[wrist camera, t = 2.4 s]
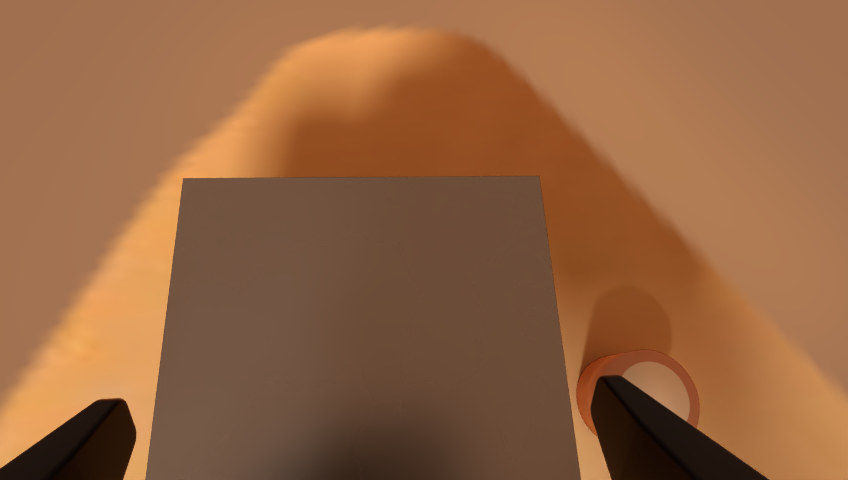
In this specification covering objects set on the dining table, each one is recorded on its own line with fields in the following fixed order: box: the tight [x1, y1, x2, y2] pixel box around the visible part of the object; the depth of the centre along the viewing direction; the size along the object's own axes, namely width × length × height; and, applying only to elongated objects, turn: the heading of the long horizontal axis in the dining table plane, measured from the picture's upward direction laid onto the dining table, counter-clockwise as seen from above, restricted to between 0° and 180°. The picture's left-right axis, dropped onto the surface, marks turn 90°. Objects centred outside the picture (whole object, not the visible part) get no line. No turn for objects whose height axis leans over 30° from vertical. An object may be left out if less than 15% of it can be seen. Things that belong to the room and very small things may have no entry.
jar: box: [577, 350, 700, 436], centre depth 17 cm, size 3×3×2 cm
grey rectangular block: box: [145, 176, 581, 480], centre depth 12 cm, size 6×6×11 cm
